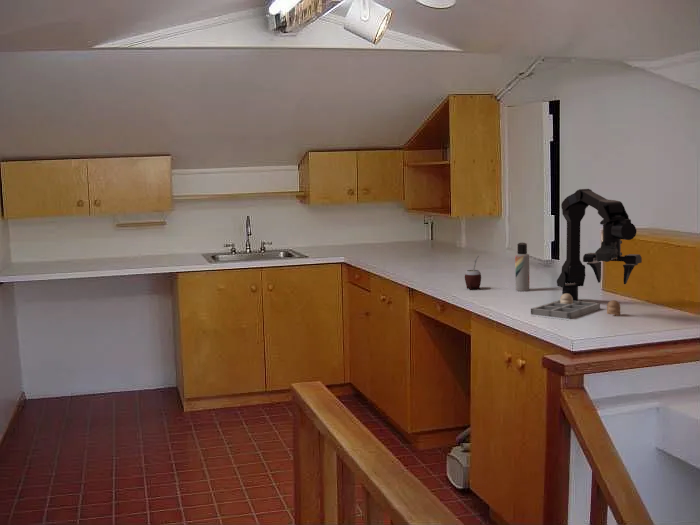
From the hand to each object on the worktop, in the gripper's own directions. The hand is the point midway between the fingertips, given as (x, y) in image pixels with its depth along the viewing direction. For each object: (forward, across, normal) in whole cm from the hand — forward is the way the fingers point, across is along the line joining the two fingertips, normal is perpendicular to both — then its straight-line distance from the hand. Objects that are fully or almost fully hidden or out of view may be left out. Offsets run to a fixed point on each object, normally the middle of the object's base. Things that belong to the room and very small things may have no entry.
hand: (611, 283), depth 276 cm
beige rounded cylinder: (+10, -18, +3) cm, 21 cm away
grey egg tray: (+11, -15, -4) cm, 19 cm away
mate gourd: (+10, -72, +25) cm, 77 cm away
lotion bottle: (+10, -53, +32) cm, 63 cm away
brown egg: (+11, 0, +1) cm, 11 cm away
